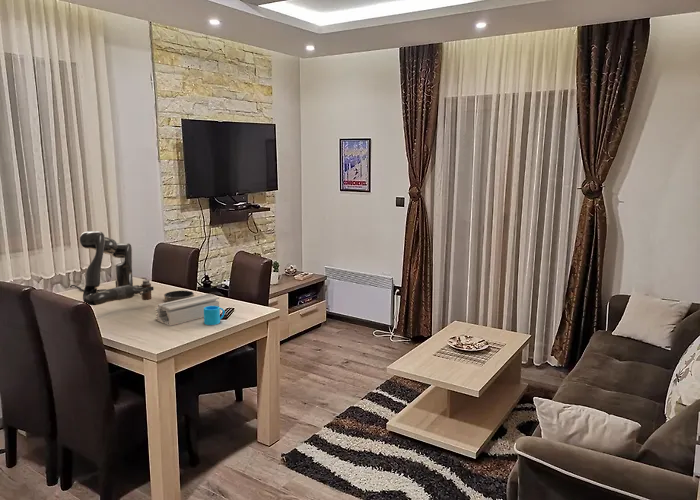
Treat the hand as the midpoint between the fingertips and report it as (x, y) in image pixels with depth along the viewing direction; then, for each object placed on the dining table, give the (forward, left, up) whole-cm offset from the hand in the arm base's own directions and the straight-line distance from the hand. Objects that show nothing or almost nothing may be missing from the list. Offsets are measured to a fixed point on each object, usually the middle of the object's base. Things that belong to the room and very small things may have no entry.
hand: (150, 287), depth 294 cm
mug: (+52, -8, -11) cm, 54 cm away
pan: (+5, +17, -11) cm, 21 cm away
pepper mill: (-1, -2, -6) cm, 7 cm away
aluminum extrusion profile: (+33, -7, -11) cm, 36 cm away
